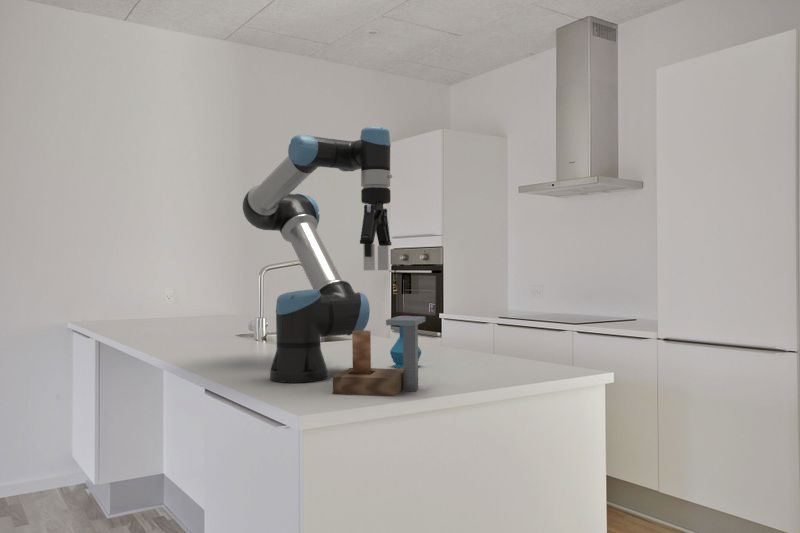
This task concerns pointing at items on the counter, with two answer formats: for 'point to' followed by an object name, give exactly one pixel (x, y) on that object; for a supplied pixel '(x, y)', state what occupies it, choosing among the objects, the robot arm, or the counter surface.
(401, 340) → the perfume bottle
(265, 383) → the counter surface
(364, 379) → the socket board
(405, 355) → the grey t-shaped block
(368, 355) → the peg
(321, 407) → the counter surface
